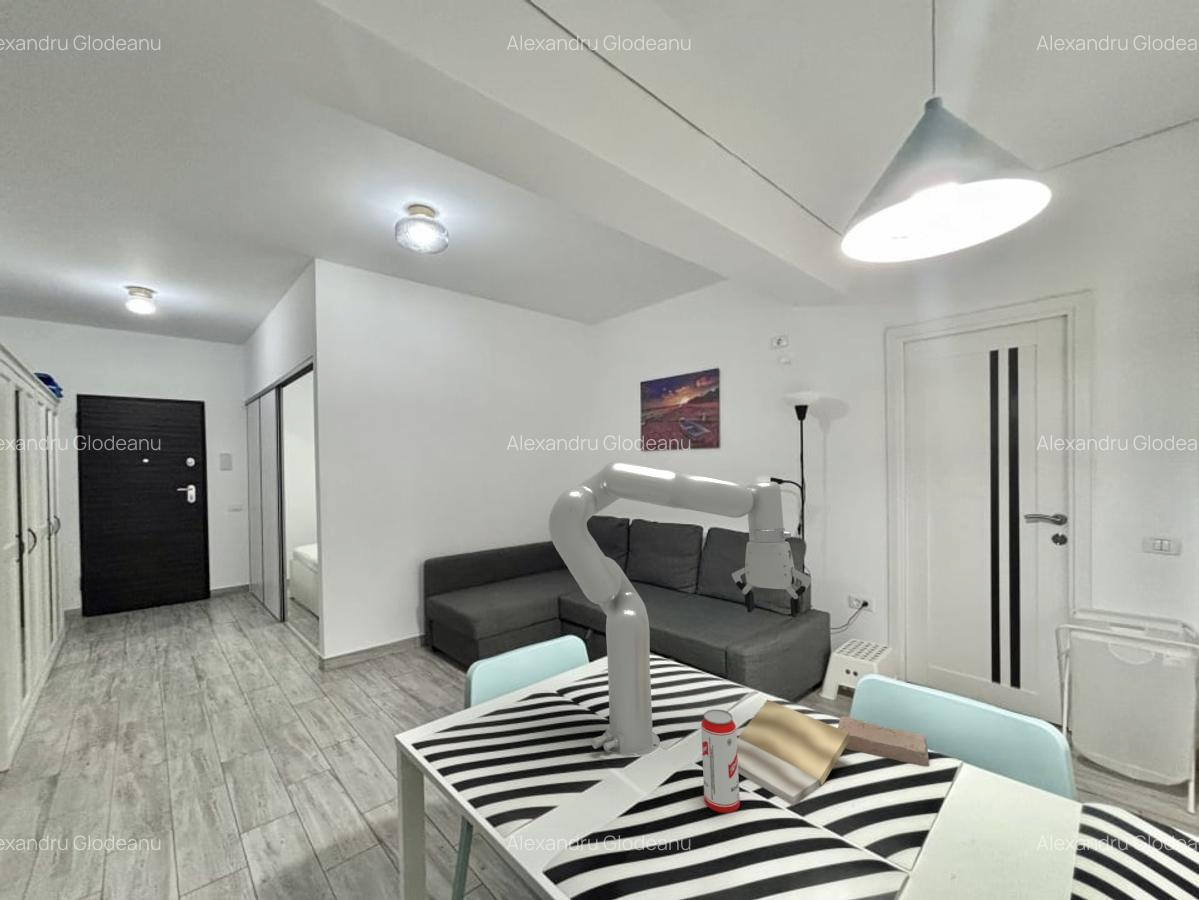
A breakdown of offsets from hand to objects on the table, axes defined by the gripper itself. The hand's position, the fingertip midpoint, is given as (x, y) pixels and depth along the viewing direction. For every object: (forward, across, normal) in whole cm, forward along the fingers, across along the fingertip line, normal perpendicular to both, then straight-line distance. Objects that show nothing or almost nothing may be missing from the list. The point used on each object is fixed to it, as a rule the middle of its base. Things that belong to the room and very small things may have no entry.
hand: (772, 613), depth 110 cm
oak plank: (+25, -4, +4) cm, 25 cm away
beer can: (+28, +3, +27) cm, 39 cm away
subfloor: (+28, -2, +8) cm, 30 cm away
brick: (+30, -18, -8) cm, 36 cm away
